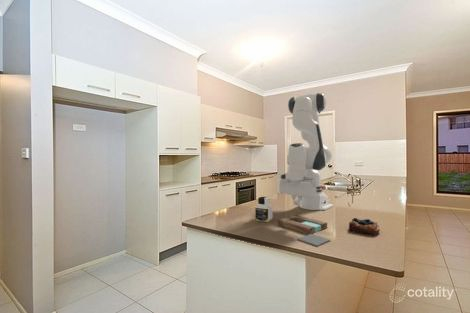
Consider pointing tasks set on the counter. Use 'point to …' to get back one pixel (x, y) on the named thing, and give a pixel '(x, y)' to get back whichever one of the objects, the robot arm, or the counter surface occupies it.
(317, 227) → the block
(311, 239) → the slate mat
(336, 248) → the counter surface
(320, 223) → the channel board
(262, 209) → the white black angular body
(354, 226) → the pastry
